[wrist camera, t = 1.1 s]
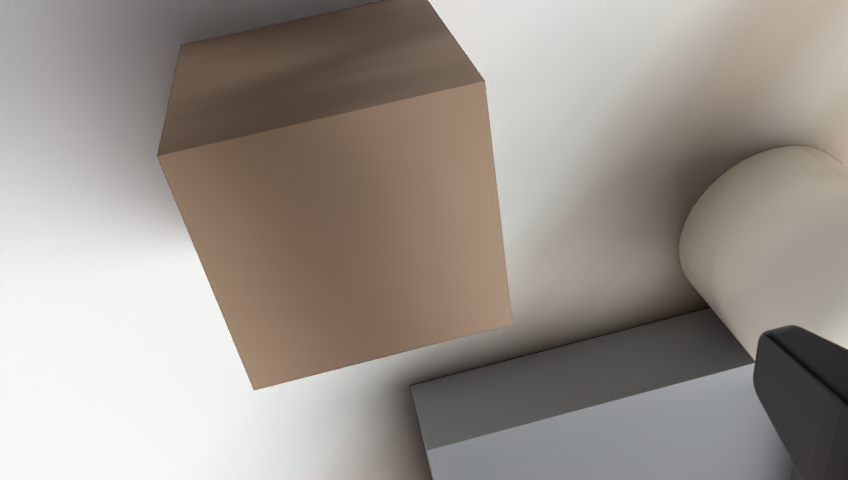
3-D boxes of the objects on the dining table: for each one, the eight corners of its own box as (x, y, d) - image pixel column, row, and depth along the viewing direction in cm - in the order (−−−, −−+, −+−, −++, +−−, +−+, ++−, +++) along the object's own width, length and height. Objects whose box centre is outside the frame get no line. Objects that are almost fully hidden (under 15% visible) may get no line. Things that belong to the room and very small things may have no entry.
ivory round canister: (862, 126, 20) (1025, 227, 15) (831, 274, 22) (961, 392, 18) (682, 170, 19) (801, 285, 15) (674, 314, 22) (772, 444, 18)
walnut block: (421, -9, 15) (485, 80, 11) (452, 194, 18) (512, 324, 14) (181, 43, 15) (157, 156, 11) (251, 242, 18) (254, 390, 14)
